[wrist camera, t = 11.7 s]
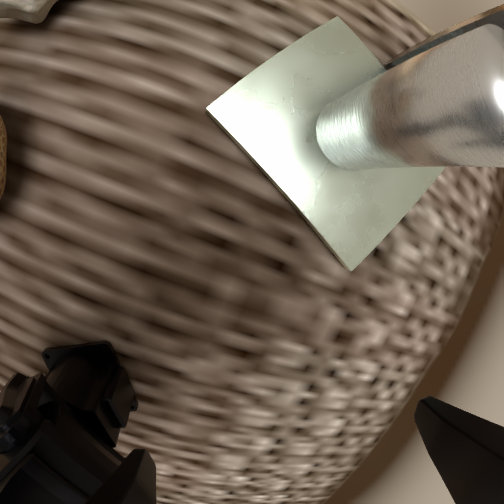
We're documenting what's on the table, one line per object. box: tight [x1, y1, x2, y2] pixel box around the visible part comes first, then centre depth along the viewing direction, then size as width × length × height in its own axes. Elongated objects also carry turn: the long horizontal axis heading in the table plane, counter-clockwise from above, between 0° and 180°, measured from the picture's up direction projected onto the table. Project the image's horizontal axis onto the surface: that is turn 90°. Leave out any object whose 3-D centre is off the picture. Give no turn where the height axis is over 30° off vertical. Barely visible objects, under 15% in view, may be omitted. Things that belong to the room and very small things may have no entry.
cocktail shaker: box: [316, 24, 504, 170], centre depth 11 cm, size 5×5×14 cm
